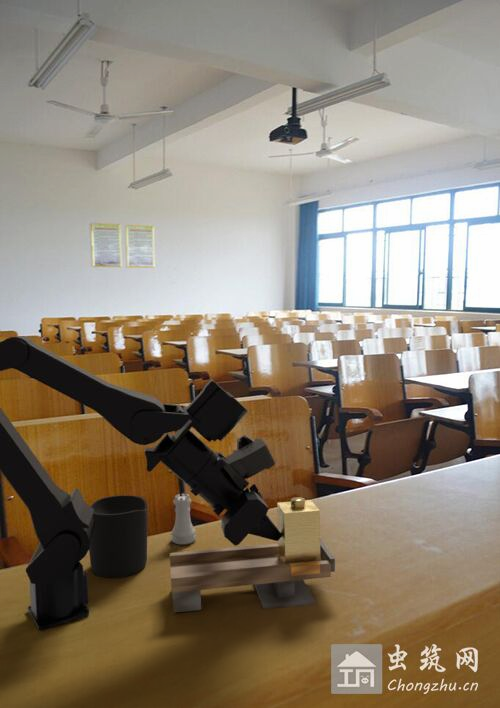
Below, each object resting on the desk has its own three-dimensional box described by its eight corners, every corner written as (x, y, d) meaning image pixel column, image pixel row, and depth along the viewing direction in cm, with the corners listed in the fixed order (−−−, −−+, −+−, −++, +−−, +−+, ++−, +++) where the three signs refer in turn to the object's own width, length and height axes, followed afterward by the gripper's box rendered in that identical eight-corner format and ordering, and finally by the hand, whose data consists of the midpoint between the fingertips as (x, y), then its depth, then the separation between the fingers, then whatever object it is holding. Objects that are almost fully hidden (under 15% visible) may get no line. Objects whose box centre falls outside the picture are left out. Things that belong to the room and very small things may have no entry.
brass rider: (285, 570, 78) (284, 506, 78) (278, 556, 83) (277, 495, 82) (320, 566, 79) (319, 503, 79) (311, 553, 84) (310, 493, 83)
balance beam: (172, 618, 74) (171, 575, 74) (170, 586, 83) (169, 547, 82) (336, 601, 77) (335, 559, 77) (317, 572, 86) (317, 534, 86)
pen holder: (161, 564, 91) (159, 502, 90) (111, 586, 84) (108, 519, 83) (126, 549, 97) (123, 491, 96) (76, 568, 90) (73, 506, 89)
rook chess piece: (192, 546, 97) (190, 500, 97) (167, 544, 98) (165, 499, 98) (199, 536, 102) (198, 492, 101) (175, 535, 103) (174, 491, 102)
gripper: (249, 436, 69) (338, 517, 72) (229, 411, 88) (301, 476, 90) (186, 505, 68) (278, 584, 71) (180, 465, 87) (253, 529, 89)
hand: (279, 537), depth 80 cm, fingers closed, pressing on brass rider
